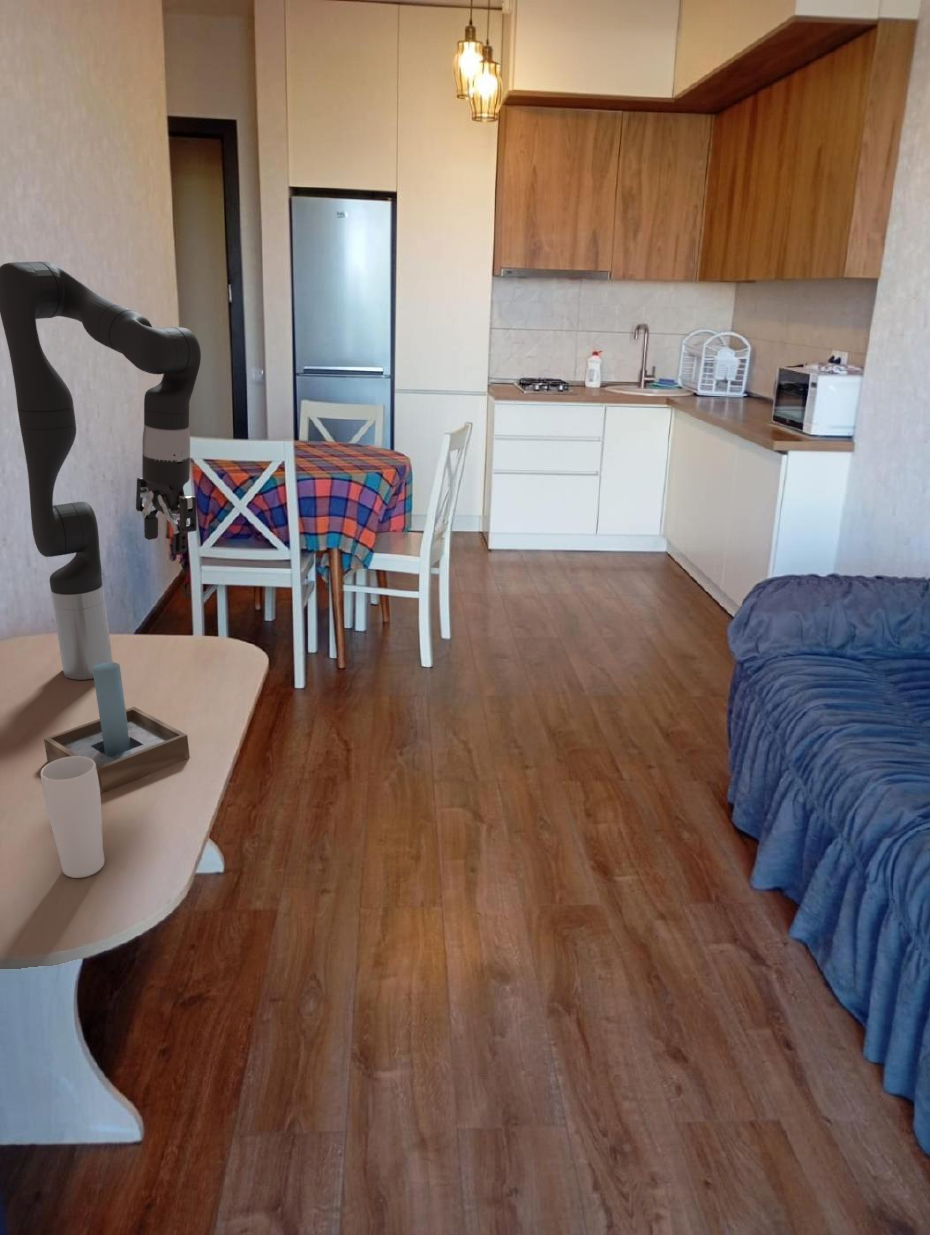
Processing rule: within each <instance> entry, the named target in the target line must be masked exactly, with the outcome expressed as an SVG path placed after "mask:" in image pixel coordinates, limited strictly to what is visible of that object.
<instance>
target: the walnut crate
mask: <svg viewBox="0 0 930 1235" xmlns="http://www.w3.org/2000/svg"><path fill="white" fill-rule="evenodd" d="M126 716H127V720H128V719H131V718H135V719H137V720H139V721H141V722H143V723H144V724H146V725H148V726H150V727H152V728H154V729H155V730H157V731H159V732H161V733H163V734H165V735H166V736H168V737H170V738H172V739H169V740H166V741H164V742H161V743H159V744H156V745H153V746H151V747H148V748H146V749H143V750H140V751H138V752H135V753H133V754H130V755H128V756H125V757H122V758H120V759H117V760H115V761H112V762H109V763H107V764H104V765H102V766H99V767H96V768H97V773H98V779H99V786H100V795H101V794H103V793H105V792H107V791H108V792H109V791H110V790H113V789H115V788H117V787H120V786H122V785H125V784H127V783H131V782H132V781H135V780H138V779H140V778H142V777H144V776H147V775H149V774H150V775H151V774H152V773H155V772H156V771H159V770H162V769H164V768H166V767H167V768H168V767H169V766H172V765H174V764H176V763H179V762H181V761H182V762H183V761H184V760H186V759H189V758H190V748H189V740H188V739H189V737H188V734H187V733H185V732H182V731H181V730H179V729H177V728H175V727H173V726H171V725H169V724H168V723H166V722H164V721H162V720H160V719H158V718H156V717H154V716H152V715H151V714H149V713H147V712H146V711H143V710H141V709H139V708H138V707H136V706H132V707H130V708H127V709H126ZM100 729H101V723H100V718H99V719H95V720H92V721H90V722H87V723H84V724H81V725H78V726H76V727H73V728H70V729H67V730H64V731H61V732H59V733H56V734H53V735H50V736H47V737H43V743H44V748H45V755H46V760H47V762H48V763H50V762H52V761H55V760H57V759H61V758H65V757H71V756H78V755H76V754H75V753H73V752H72V751H70V750H68V749H67V748H65V747H64V746H62V745H61V743H64V742H67V741H70V740H73V739H75V738H78V737H81V736H84V735H86V734H89V733H92V732H95V731H98V730H100Z"/></svg>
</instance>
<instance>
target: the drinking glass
mask: <svg viewBox="0 0 930 1235" xmlns="http://www.w3.org/2000/svg"><path fill="white" fill-rule="evenodd" d="M40 781H41V783H40V784H41V789H42V796H43V800H44V804H45V809H46V813H47V817H48V820H49V823H50V827H51V830H52V835H53V837H54V841H55V845H56V849H57V854H58V857H59V861H60V865H61V866H60V868H61V870H62V873H63V874H64V875H65V876H67V877H69V878H73V879H83V878H86V877H87V878H88V877H90V876H93V875H94V874H97V873H98V872H99V871H101V869H103V867H104V865H105V854H104V853H105V852H104V844H103V840H104V839H103V824H102V820H103V819H102V801H101V794H100V786H99V779H98V773H97V768H96V763H95V761H94V760H92V759H91V758H88V757H84V756H71V757H65V758H61V759H57V760H55V761H52V762H48V763H47V764H46V765H45V766H43V767H42V769H41V770H40Z"/></svg>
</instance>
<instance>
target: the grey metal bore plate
mask: <svg viewBox="0 0 930 1235" xmlns="http://www.w3.org/2000/svg"><path fill="white" fill-rule="evenodd" d="M127 723H128V730H129V738H130V745H131V750H128V751H125V752H123V753H120V754H118V755H115V756H112V757H110V758H109V757H107V756H106V755H105V750H104V743H103V736H102V730H101V729H100V730H98V731H95V732H92V733H89V734H86V735H84V736H81V737H78V738H75V739H73V740H70V741H67V742H64V743H61V745H62V746H64V747H65V748H67V749H68V750H70V751H72V752H73V753H75V754H76V755H78V756H84V757H88V758H91V759H92V760H94V761H95V763H96V767H99V766H102V765H104V764H107V763H109V762H112V761H115V760H117V759H120V758H122V757H125V756H128V755H130V754H133V753H135V752H138V751H140V750H143V749H146V748H148V747H151V746H153V745H156V744H159V743H161V742H164V741H166V740H169V739H172V738H170V737H168V736H166V735H165V734H163V733H161V732H159V731H157V730H155V729H154V728H152V727H150V726H148V725H146V724H144V723H143V722H141V721H139V720H137V719H135V718H131V719H128V720H127Z"/></svg>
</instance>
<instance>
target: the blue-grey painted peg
mask: <svg viewBox="0 0 930 1235" xmlns="http://www.w3.org/2000/svg"><path fill="white" fill-rule="evenodd" d="M93 675H94V678H93V681H94V687H95V694H96V702H97V707H98V708H97V709H98V714H99V715H98V716H99V719H100V723H101V730H102V736H103V743H104V750H105V755H106V756H107V757H109V758H110V757H112V756H115V755H118V754H120V753H123V752H125V751H128V750H131V745H130V738H129V730H128V723H127V716H126V702H125V695H124V694H125V693H124V688H123V680H122V673H121V665H120V663H118V662H108V663H102V664H98V665H96V666H94V667H93Z"/></svg>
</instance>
